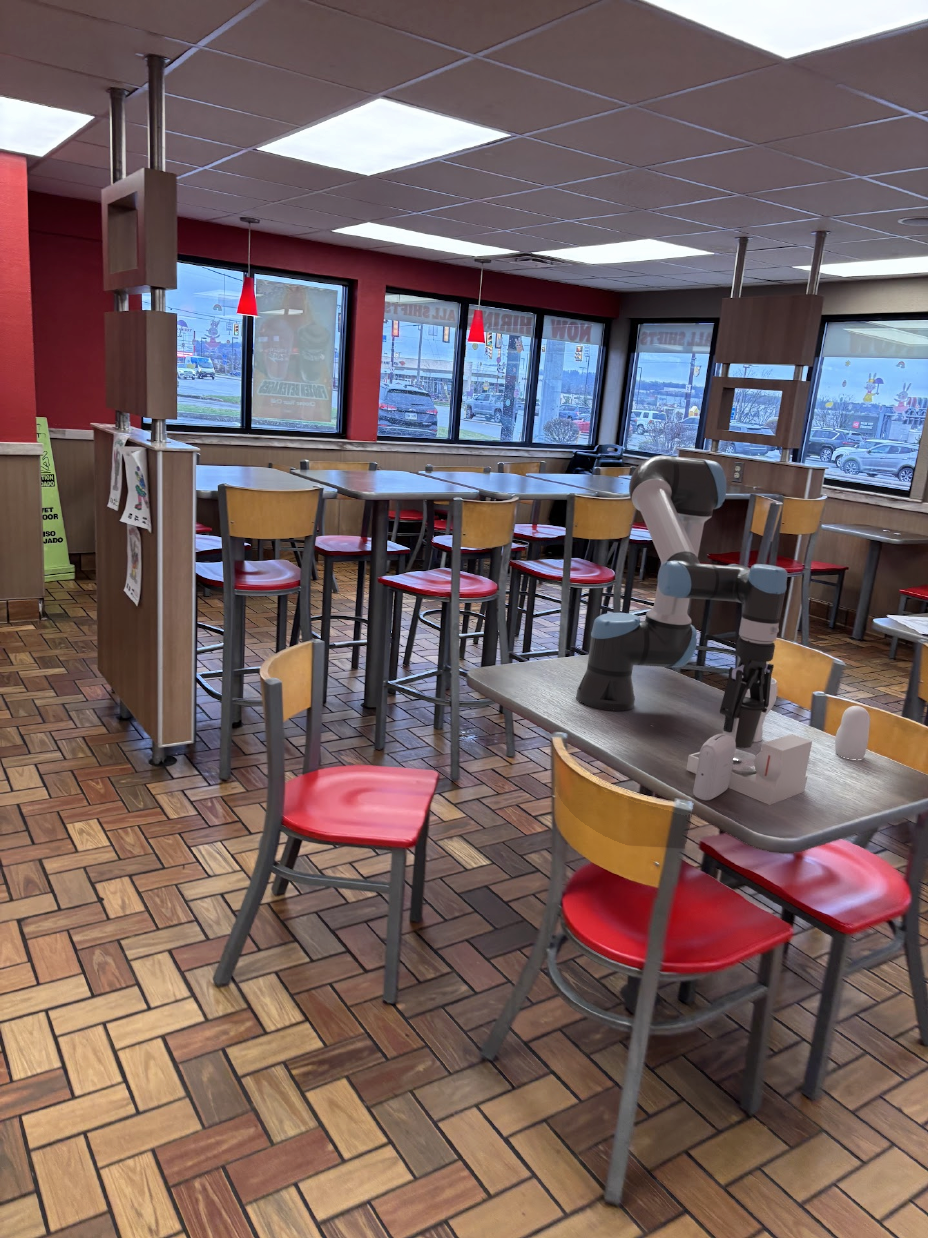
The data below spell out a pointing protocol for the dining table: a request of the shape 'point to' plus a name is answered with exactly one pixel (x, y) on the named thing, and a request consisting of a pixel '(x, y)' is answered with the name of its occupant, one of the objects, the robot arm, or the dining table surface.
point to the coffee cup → (748, 722)
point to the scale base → (772, 770)
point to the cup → (771, 702)
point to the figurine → (853, 733)
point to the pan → (743, 762)
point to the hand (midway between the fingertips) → (738, 742)
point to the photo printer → (714, 766)
